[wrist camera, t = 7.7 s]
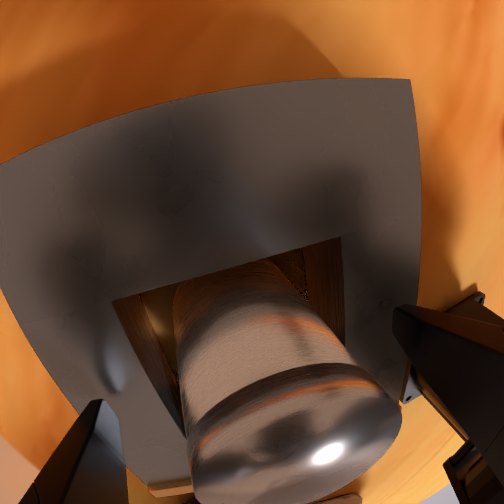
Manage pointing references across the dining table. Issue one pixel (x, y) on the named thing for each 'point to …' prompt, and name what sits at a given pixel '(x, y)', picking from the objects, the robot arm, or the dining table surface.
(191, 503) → the billiard ball
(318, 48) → the dining table surface
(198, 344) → the grey cylinder
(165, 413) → the jig
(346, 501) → the ceramic pitcher
